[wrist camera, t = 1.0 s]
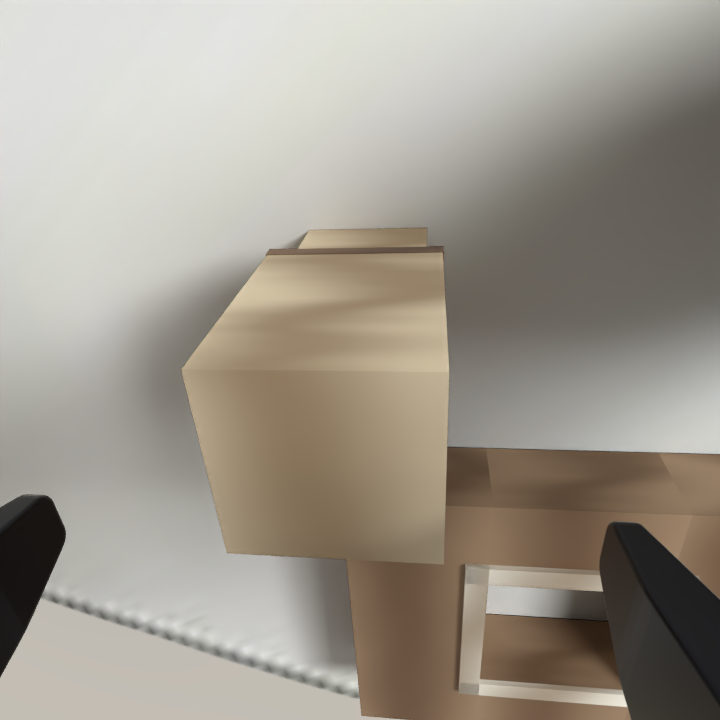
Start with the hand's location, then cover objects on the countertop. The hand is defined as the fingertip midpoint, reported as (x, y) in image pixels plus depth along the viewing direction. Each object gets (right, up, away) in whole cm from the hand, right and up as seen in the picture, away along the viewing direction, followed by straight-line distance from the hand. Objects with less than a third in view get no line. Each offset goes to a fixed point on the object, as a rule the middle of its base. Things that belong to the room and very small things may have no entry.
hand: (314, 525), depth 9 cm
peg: (+1, +5, +9) cm, 10 cm away
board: (+9, -6, +14) cm, 18 cm away
